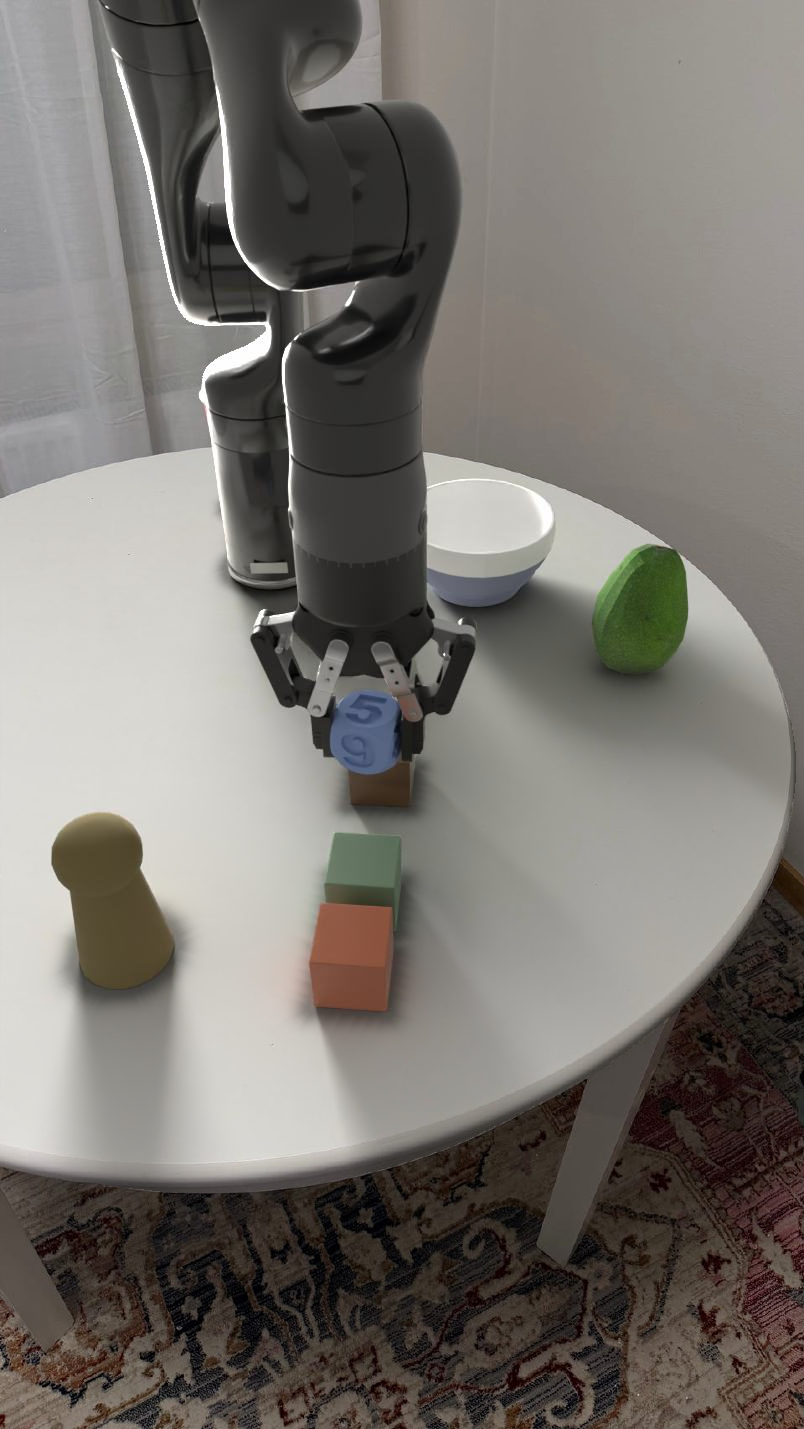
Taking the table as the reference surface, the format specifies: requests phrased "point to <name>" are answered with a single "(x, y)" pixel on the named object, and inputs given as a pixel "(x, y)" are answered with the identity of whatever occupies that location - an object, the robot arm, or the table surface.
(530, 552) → the bowl
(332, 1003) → the terracotta block
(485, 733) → the table surface
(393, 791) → the walnut block
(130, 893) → the tan ball-topped figurine
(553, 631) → the table surface
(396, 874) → the sage block
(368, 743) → the decorative dice
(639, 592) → the avocado
